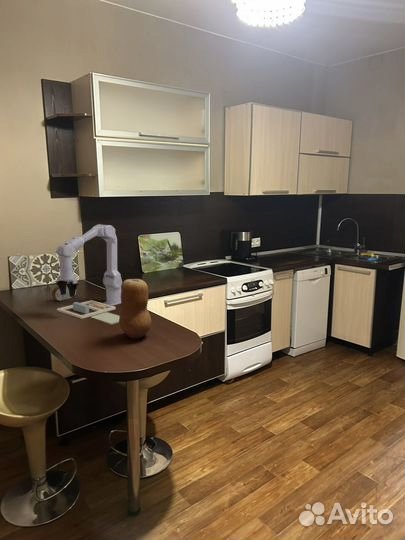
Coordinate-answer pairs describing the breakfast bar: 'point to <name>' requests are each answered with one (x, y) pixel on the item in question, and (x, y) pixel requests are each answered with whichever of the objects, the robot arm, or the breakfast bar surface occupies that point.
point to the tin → (57, 295)
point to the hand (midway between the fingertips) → (67, 295)
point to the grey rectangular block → (80, 307)
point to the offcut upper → (97, 306)
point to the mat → (107, 318)
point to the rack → (89, 308)
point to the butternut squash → (134, 308)
